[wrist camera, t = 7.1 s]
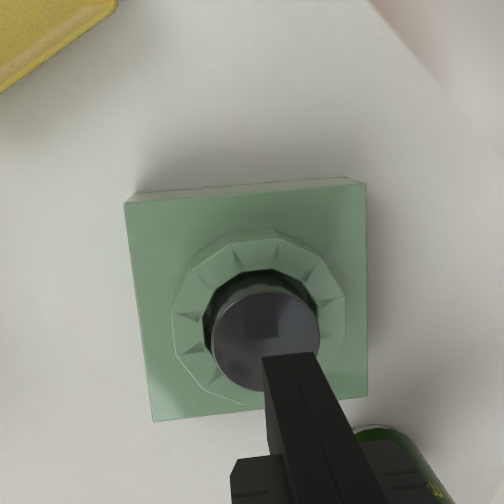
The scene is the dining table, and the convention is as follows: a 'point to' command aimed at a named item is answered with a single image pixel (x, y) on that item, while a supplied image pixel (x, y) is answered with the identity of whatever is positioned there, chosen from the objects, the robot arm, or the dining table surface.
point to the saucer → (42, 31)
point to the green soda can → (406, 444)
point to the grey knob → (259, 327)
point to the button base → (237, 267)
